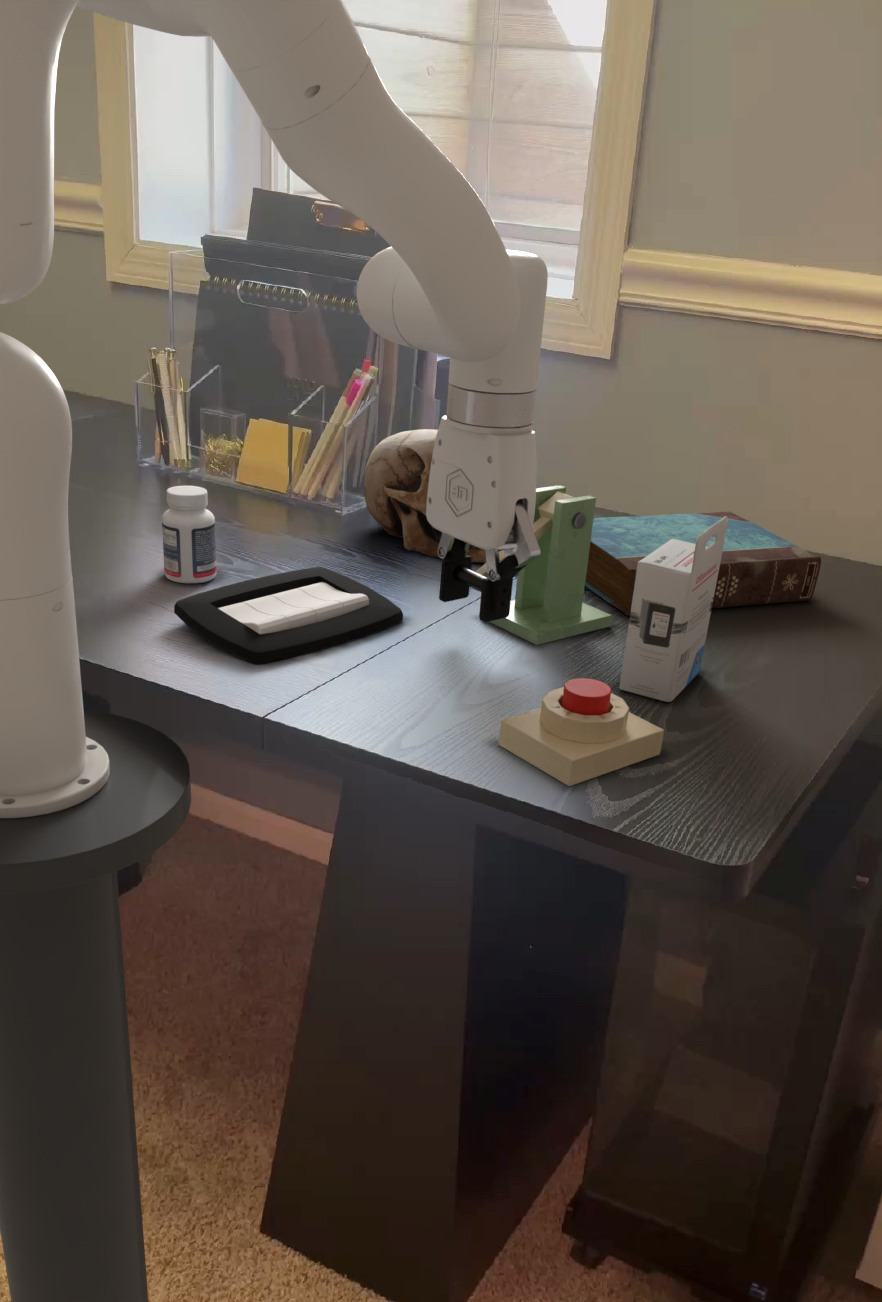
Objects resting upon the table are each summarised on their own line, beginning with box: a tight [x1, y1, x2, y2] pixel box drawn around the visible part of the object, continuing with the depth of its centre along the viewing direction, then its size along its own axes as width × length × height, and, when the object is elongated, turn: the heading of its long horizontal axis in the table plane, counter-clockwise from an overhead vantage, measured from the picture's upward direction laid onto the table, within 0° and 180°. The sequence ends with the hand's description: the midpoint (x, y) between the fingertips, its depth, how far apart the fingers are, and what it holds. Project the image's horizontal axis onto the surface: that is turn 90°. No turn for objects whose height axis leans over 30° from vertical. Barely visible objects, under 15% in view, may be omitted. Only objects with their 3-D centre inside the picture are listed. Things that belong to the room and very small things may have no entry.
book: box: [585, 511, 822, 616], centre depth 131 cm, size 23×18×5 cm
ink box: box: [618, 516, 728, 703], centre depth 103 cm, size 9×5×15 cm, turn 151°
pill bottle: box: [161, 485, 218, 584], centre depth 121 cm, size 5×5×9 cm
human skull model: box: [363, 428, 500, 564], centre depth 137 cm, size 16×17×13 cm
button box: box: [498, 686, 665, 787], centre depth 93 cm, size 10×8×4 cm
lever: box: [453, 492, 575, 593], centre depth 111 cm, size 13×5×2 cm, turn 128°
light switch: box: [173, 566, 404, 664], centre depth 113 cm, size 20×3×14 cm
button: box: [562, 677, 612, 715], centre depth 91 cm, size 4×4×2 cm
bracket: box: [488, 484, 613, 646], centre depth 115 cm, size 10×8×13 cm
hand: (473, 606), depth 111 cm, fingers closed on lever, 5 cm apart
